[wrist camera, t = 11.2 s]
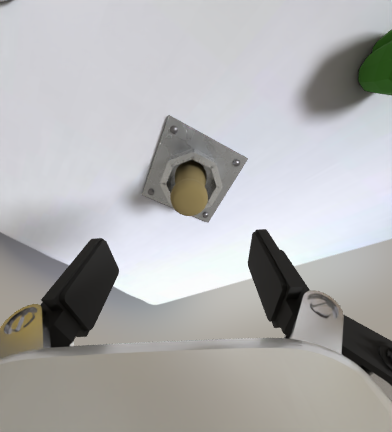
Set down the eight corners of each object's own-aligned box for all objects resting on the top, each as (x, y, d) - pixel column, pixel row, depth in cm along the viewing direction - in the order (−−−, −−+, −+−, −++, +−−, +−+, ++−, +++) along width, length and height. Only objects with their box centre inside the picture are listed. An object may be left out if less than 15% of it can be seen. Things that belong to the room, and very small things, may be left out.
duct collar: (142, 193, 33) (135, 204, 29) (169, 115, 26) (164, 114, 22) (208, 221, 36) (209, 233, 32) (247, 158, 29) (255, 164, 25)
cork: (172, 188, 32) (162, 218, 22) (177, 156, 29) (169, 175, 19) (202, 195, 32) (205, 226, 23) (210, 165, 29) (218, 186, 20)
